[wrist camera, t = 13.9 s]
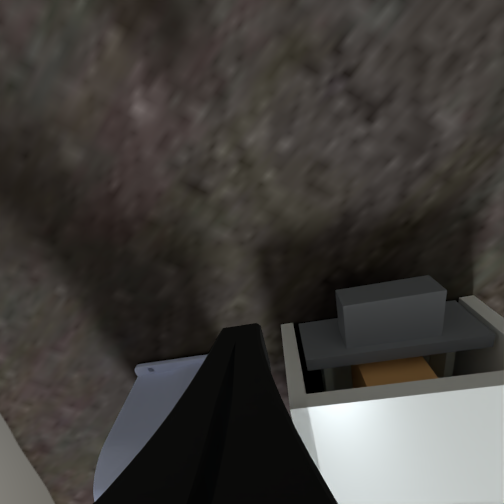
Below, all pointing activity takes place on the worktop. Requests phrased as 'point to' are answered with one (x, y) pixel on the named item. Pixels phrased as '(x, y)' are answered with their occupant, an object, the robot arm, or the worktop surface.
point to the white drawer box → (410, 429)
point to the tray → (391, 330)
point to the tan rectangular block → (391, 372)
